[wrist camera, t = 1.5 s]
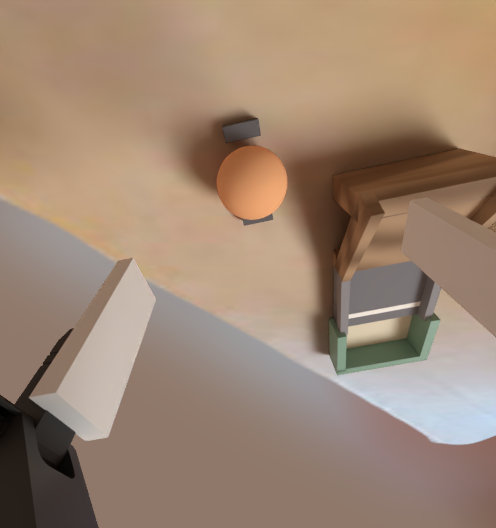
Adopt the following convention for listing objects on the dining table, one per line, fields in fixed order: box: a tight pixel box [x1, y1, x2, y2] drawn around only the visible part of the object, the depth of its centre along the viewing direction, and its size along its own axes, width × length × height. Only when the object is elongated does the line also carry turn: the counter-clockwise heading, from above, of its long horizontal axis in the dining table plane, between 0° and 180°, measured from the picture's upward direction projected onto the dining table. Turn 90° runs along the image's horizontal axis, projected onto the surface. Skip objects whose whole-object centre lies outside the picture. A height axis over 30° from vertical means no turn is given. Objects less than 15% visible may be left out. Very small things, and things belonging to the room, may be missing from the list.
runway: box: [333, 261, 441, 335], centre depth 32 cm, size 10×12×3 cm
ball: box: [217, 146, 287, 220], centre depth 22 cm, size 6×6×6 cm
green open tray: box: [329, 312, 440, 375], centre depth 37 cm, size 9×13×4 cm, turn 101°
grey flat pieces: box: [222, 118, 273, 226], centre depth 24 cm, size 9×3×1 cm, turn 11°
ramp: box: [333, 149, 496, 282], centre depth 24 cm, size 12×12×8 cm
